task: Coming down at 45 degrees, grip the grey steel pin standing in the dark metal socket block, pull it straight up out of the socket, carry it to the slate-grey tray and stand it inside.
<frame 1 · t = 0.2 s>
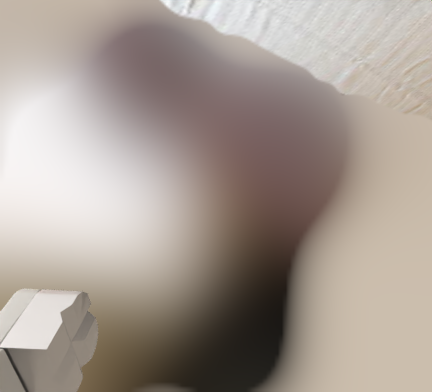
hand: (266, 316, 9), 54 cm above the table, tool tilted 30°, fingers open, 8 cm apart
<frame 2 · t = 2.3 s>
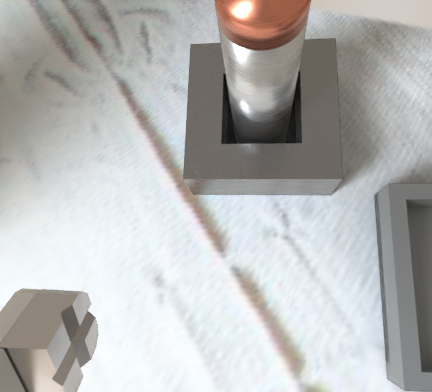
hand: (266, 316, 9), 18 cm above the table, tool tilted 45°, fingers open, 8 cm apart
pin: (261, 78, 22), in the socket
socket: (261, 131, 29), on the table
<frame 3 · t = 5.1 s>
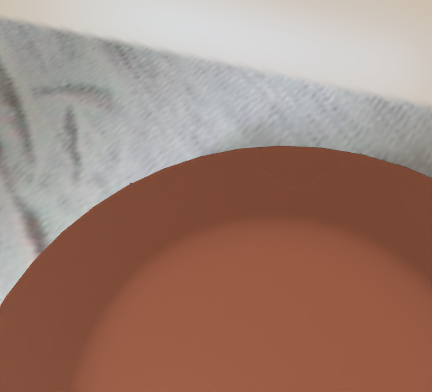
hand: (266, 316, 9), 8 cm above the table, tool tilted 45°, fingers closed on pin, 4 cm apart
pin: (266, 341, 9), in the socket, touching gripper
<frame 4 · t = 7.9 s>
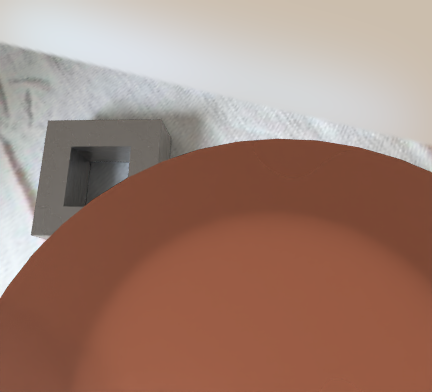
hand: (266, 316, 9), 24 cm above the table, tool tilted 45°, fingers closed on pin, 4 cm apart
pin: (265, 338, 9), point 23 cm above the table, touching gripper
socket: (114, 188, 35), on the table
when the fingers open (10 cm above the table, at t = 10.9 s): pin drops 1 cm, resting on tray.
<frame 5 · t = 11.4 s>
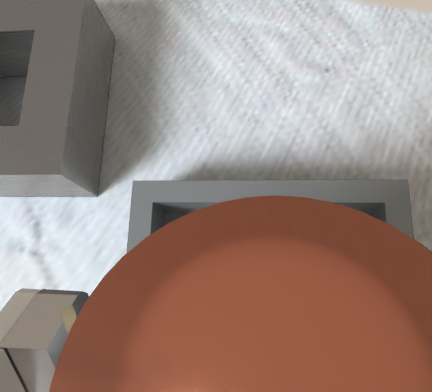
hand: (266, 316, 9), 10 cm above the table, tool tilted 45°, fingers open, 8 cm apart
tray: (264, 318, 18), on the table
pin: (264, 336, 10), in the tray, point 8 cm above the table
socket: (25, 114, 23), on the table
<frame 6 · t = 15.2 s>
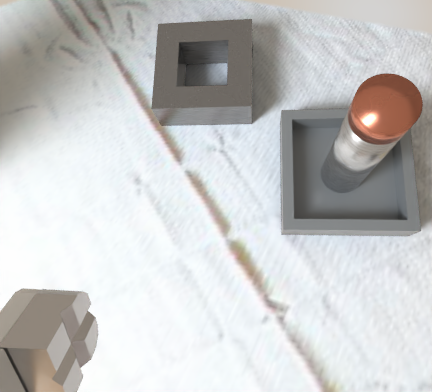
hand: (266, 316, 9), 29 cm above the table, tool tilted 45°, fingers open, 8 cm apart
tray: (340, 176, 39), on the table
pin: (359, 146, 31), in the tray, point 8 cm above the table
socket: (207, 83, 43), on the table
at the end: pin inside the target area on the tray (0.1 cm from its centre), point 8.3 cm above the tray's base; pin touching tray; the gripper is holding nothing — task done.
